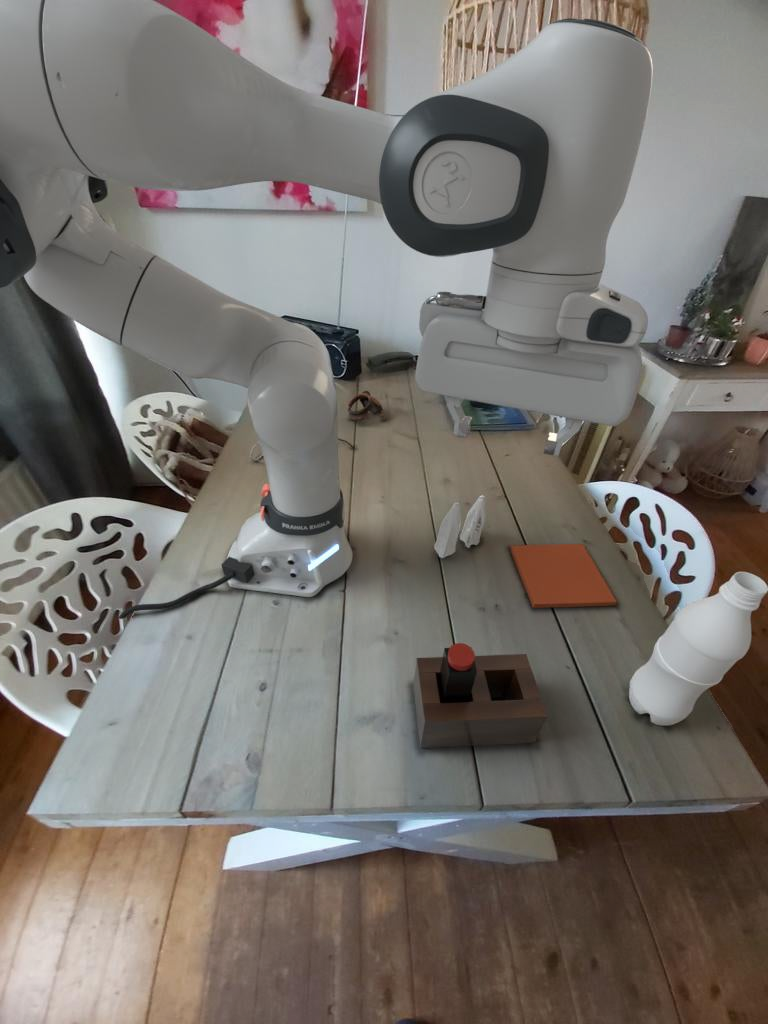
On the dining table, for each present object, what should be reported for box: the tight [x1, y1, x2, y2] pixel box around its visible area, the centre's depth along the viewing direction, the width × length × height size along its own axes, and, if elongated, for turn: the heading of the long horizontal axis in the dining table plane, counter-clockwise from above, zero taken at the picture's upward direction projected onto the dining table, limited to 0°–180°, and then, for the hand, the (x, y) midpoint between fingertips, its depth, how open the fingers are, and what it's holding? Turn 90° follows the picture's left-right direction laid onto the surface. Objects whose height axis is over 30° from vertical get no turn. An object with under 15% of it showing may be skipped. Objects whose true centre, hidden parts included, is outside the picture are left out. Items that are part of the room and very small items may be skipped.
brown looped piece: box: [347, 390, 385, 422], centre depth 122 cm, size 12×10×8 cm
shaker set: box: [433, 495, 487, 559], centre depth 80 cm, size 12×4×11 cm, turn 126°
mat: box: [509, 543, 618, 609], centre depth 78 cm, size 14×14×1 cm
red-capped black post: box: [438, 642, 477, 703], centre depth 54 cm, size 3×3×14 cm
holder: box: [412, 653, 549, 749], centre depth 57 cm, size 8×15×7 cm, turn 93°
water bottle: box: [628, 571, 768, 726], centre depth 52 cm, size 7×7×25 cm
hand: (505, 443), depth 46 cm, fingers open, 8 cm apart
